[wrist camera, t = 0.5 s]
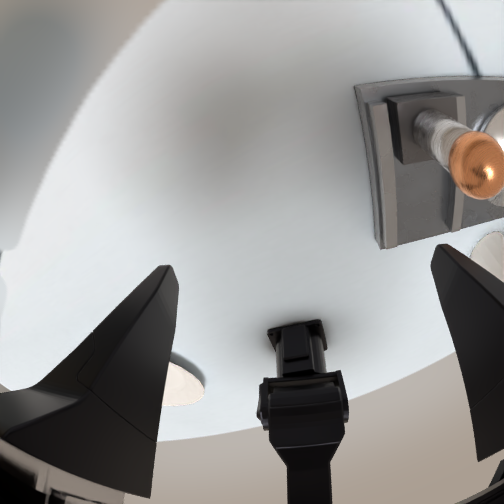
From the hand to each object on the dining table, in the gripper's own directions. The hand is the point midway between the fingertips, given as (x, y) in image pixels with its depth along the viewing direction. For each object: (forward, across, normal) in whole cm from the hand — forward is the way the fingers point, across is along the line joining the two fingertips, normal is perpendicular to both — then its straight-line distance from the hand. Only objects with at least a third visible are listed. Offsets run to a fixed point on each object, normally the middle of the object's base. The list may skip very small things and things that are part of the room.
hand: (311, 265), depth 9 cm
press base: (+14, -17, +1) cm, 22 cm away
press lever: (+12, -10, -2) cm, 16 cm away
